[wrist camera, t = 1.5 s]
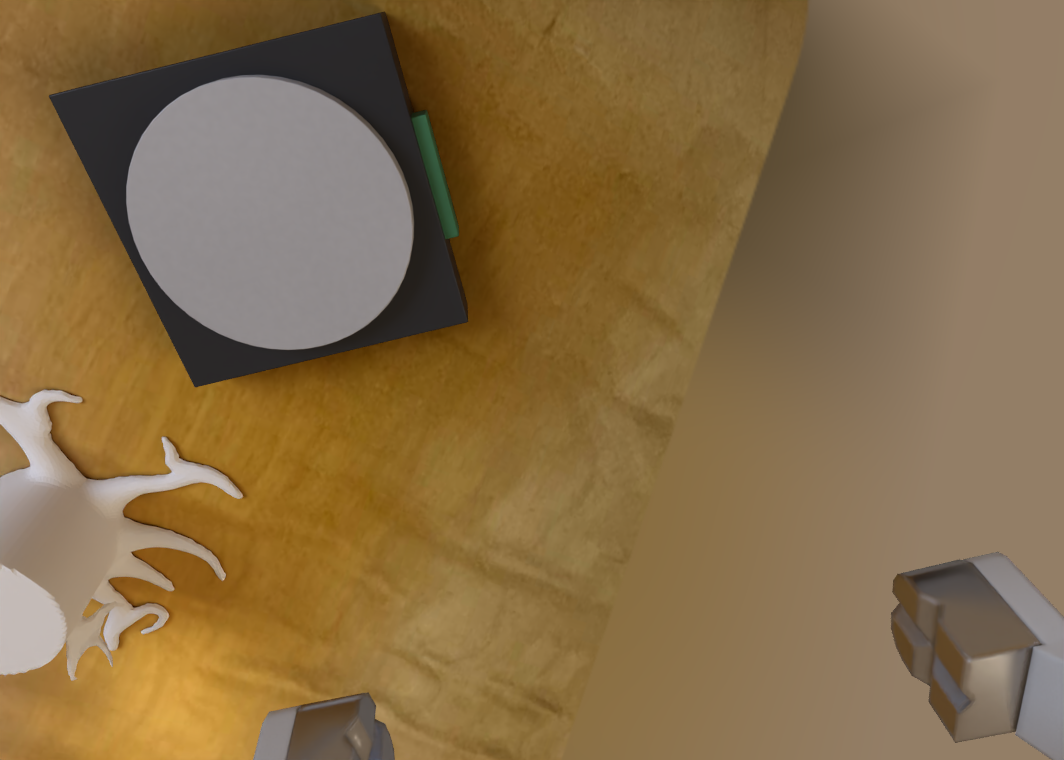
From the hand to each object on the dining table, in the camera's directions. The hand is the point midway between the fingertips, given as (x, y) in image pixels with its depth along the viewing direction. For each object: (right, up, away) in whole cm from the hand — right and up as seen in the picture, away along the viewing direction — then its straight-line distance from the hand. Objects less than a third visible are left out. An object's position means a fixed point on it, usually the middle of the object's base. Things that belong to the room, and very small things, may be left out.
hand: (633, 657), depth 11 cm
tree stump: (-30, -4, +34) cm, 46 cm away
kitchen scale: (-14, +13, +27) cm, 33 cm away
